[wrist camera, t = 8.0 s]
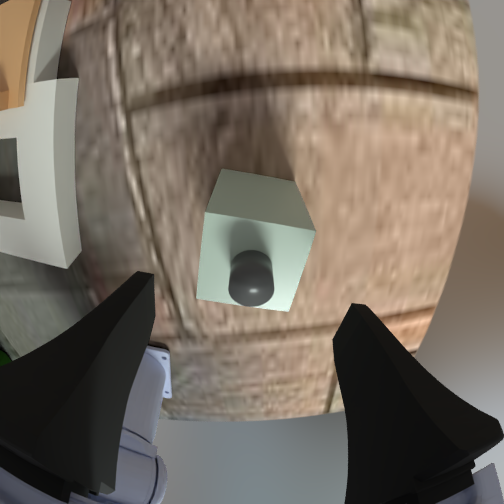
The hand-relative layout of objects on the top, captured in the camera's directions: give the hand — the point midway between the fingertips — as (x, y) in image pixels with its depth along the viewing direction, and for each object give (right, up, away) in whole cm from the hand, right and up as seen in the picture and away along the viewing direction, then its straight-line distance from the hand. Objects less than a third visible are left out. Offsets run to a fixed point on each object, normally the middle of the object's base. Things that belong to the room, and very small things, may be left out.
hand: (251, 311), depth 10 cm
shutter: (-17, +15, -2) cm, 22 cm away
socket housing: (-18, +11, +4) cm, 21 cm away
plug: (0, +5, +8) cm, 9 cm away
